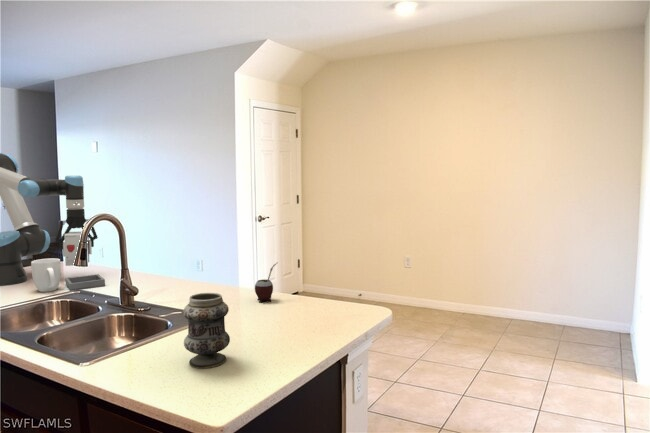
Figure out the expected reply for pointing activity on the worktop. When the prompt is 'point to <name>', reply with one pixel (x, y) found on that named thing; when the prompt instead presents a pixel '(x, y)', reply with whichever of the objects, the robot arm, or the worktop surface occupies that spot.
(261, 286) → the mate gourd
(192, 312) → the apothecary jar
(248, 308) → the worktop surface
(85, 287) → the tray
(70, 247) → the supplement box
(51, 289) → the mug
